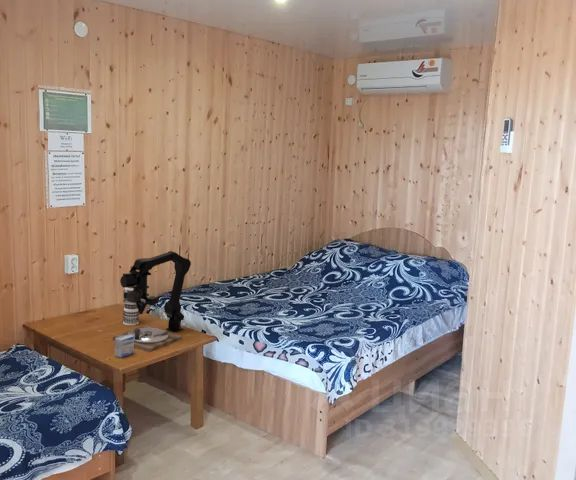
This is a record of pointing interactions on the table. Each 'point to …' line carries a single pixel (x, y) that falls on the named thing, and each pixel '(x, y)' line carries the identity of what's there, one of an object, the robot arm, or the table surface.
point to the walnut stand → (153, 346)
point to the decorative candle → (130, 310)
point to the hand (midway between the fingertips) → (140, 314)
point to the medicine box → (124, 346)
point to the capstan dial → (148, 335)
